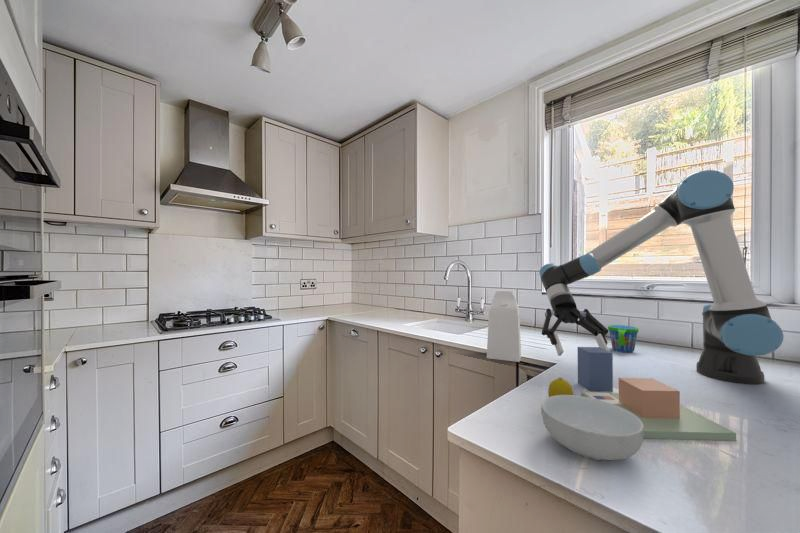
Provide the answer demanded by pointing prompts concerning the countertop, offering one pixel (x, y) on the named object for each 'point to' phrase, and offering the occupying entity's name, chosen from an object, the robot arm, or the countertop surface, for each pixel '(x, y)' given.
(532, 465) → the countertop surface
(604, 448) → the cereal bowl
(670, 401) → the baseplate tower
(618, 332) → the snack cup
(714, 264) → the robot arm
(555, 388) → the lemon
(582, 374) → the navy brick
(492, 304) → the milk
